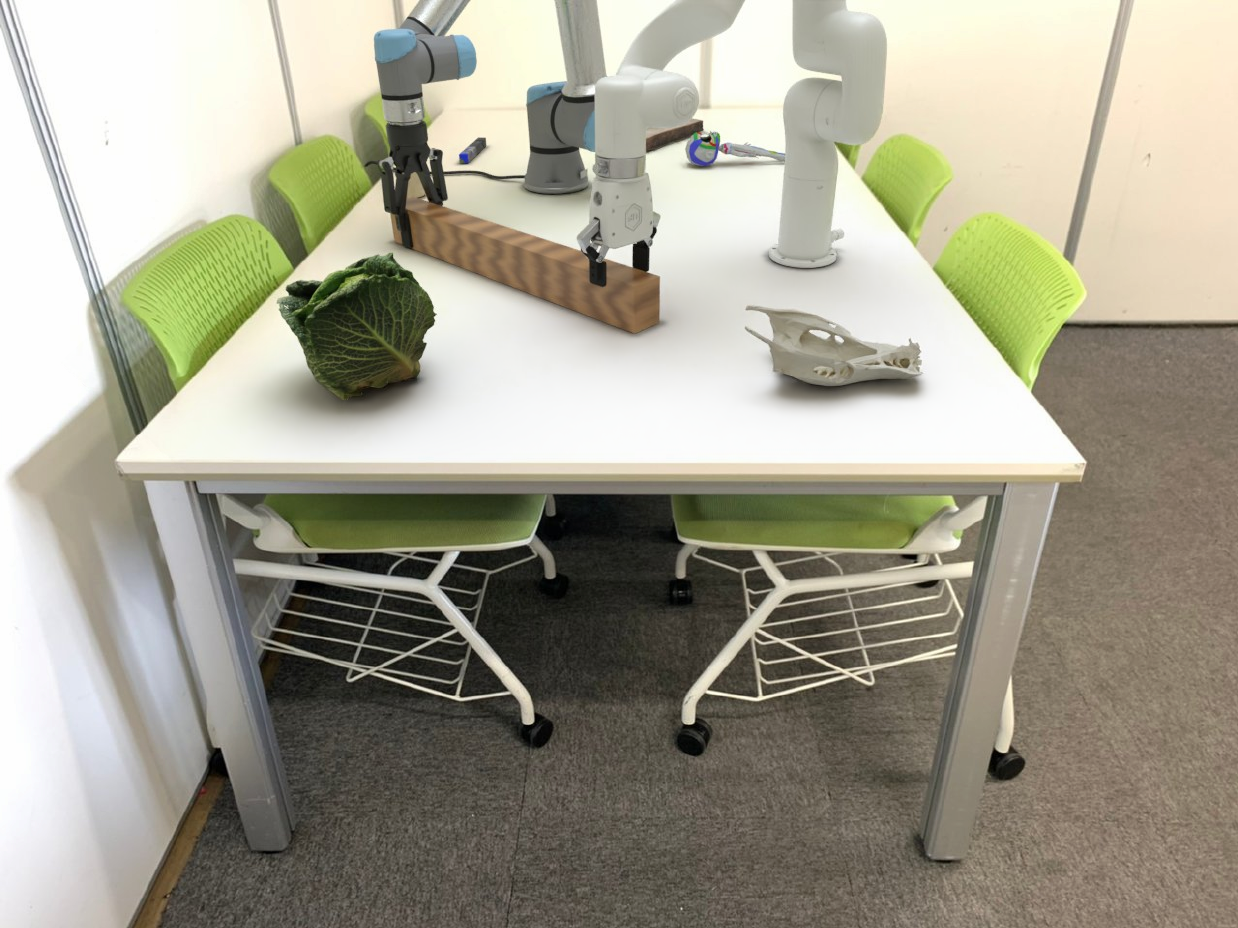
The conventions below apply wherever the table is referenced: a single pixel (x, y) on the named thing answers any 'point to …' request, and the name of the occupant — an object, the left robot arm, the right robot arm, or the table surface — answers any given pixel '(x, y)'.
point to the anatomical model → (832, 351)
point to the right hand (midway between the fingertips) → (619, 277)
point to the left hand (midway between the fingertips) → (421, 242)
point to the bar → (534, 265)
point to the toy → (721, 149)
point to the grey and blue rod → (472, 150)
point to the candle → (415, 187)
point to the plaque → (671, 134)
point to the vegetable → (360, 325)
